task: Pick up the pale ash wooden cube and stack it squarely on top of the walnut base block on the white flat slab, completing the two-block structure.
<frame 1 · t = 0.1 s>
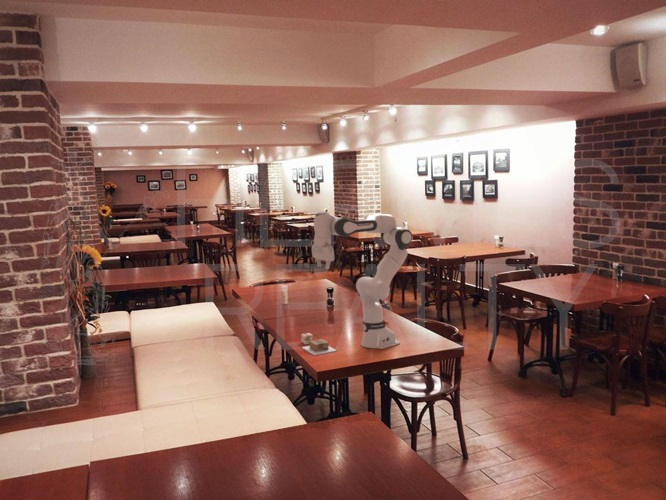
hand: (323, 267, 285), 48 cm above the table, fingers open, 8 cm apart
white flat slab: (319, 349, 298), on the table
walnut base: (318, 345, 298), on the white flat slab, point 3 cm above the table
ash cube: (307, 342, 312), on the table
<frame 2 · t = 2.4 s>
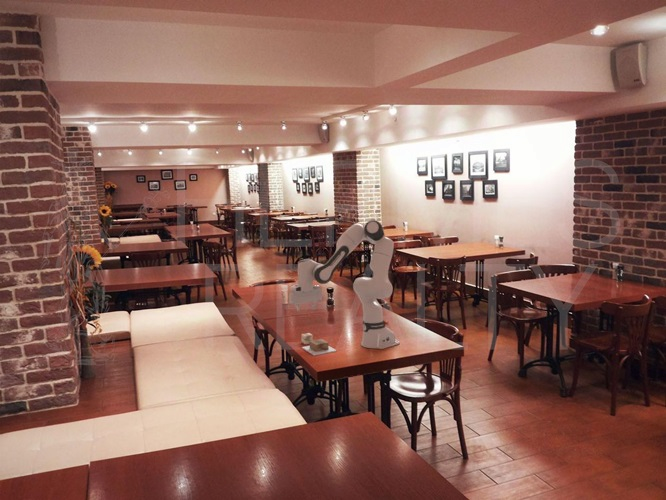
hand: (306, 309, 310), 20 cm above the table, fingers open, 8 cm apart
nothing on the table moved.
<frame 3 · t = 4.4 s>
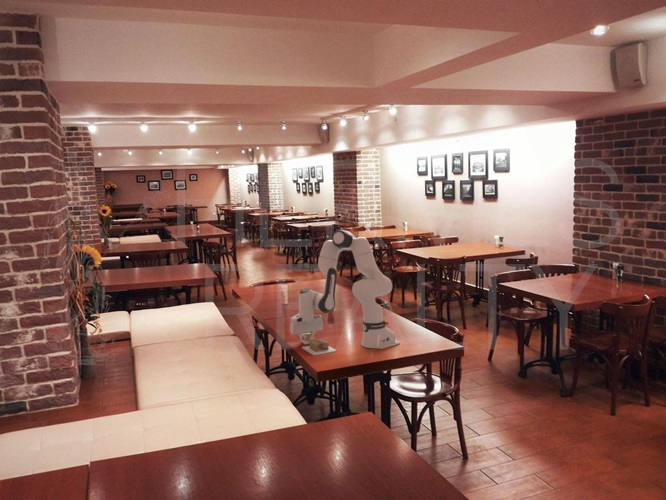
hand: (307, 339, 312), 2 cm above the table, fingers closed on ash cube, 5 cm apart
ash cube: (307, 342, 312), on the table, touching gripper
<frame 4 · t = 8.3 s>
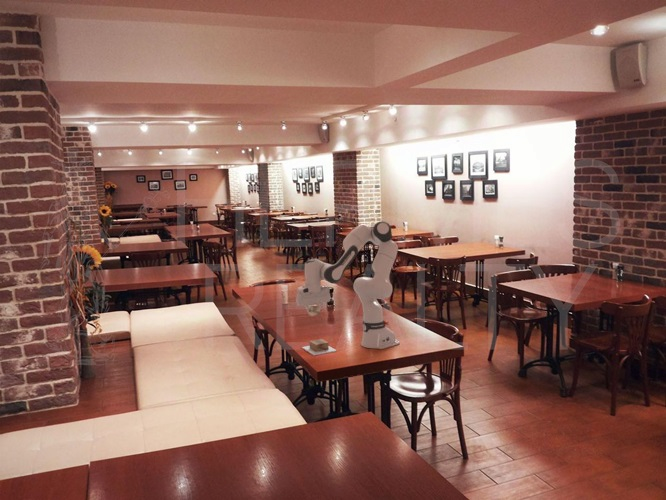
hand: (313, 311, 301), 21 cm above the table, fingers closed on ash cube, 5 cm apart
ash cube: (314, 314, 301), point 19 cm above the table, touching gripper
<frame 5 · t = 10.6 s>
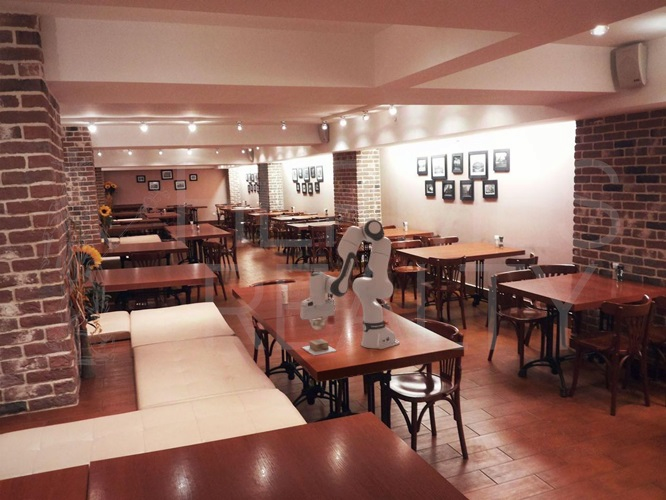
hand: (318, 325, 296), 14 cm above the table, fingers closed on ash cube, 5 cm apart
ash cube: (318, 328, 296), point 12 cm above the table, touching gripper
when the fingers open (8 cm above the table, at t = 12.5 s): ash cube drops 1 cm, resting on walnut base.
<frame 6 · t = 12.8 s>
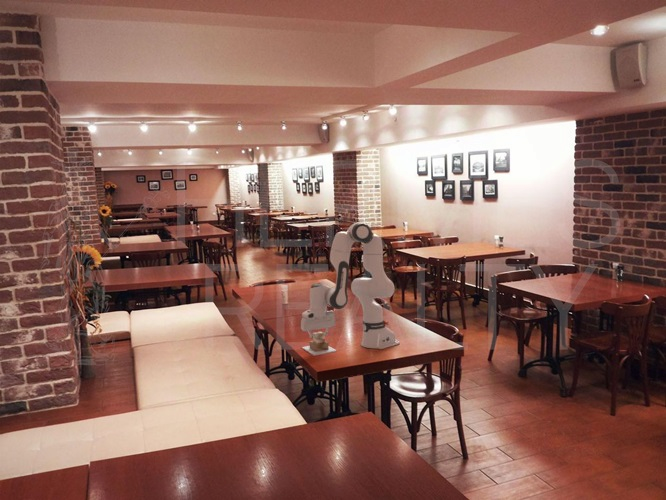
hand: (318, 336, 297), 8 cm above the table, fingers open, 8 cm apart
ash cube: (319, 341, 297), point 5 cm above the table, touching walnut base
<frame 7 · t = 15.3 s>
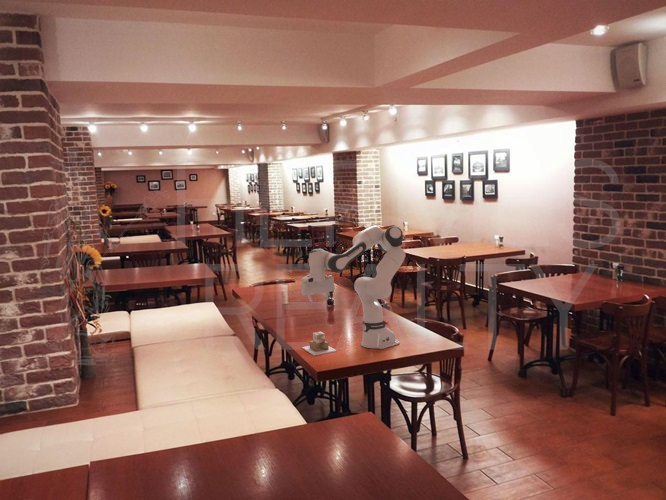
hand: (318, 300, 303), 26 cm above the table, fingers open, 8 cm apart
nothing on the table moved.
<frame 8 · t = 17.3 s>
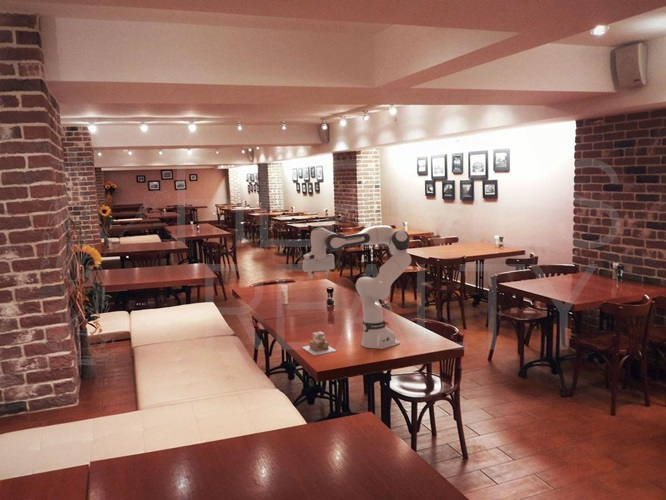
hand: (319, 277, 316), 37 cm above the table, fingers open, 8 cm apart
nothing on the table moved.
at the end: ash cube 0.1 cm off-centre on the walnut base, point 4.6 cm above the walnut base's base; ash cube tilted 0°; the gripper is holding nothing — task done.
